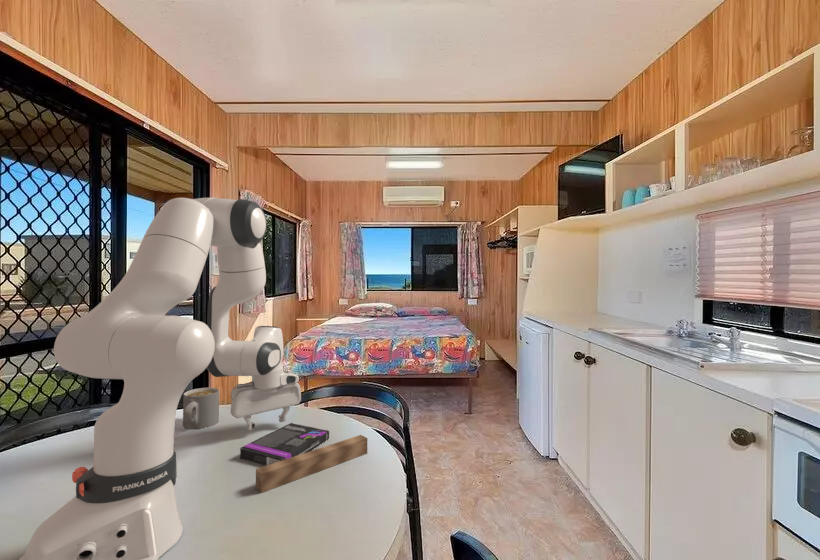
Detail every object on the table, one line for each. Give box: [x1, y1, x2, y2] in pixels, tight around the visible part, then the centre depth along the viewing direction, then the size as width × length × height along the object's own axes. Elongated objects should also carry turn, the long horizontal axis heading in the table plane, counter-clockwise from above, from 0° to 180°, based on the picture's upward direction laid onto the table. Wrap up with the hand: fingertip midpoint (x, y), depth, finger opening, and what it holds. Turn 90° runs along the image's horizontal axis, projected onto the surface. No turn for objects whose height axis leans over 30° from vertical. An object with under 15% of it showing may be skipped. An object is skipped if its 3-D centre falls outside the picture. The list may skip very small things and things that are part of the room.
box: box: [239, 422, 330, 466], centre depth 101 cm, size 14×4×20 cm
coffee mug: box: [182, 387, 220, 430], centre depth 117 cm, size 13×10×10 cm
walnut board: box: [255, 434, 368, 494], centre depth 90 cm, size 28×3×4 cm, turn 133°
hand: (267, 425), depth 112 cm, fingers open, 8 cm apart
